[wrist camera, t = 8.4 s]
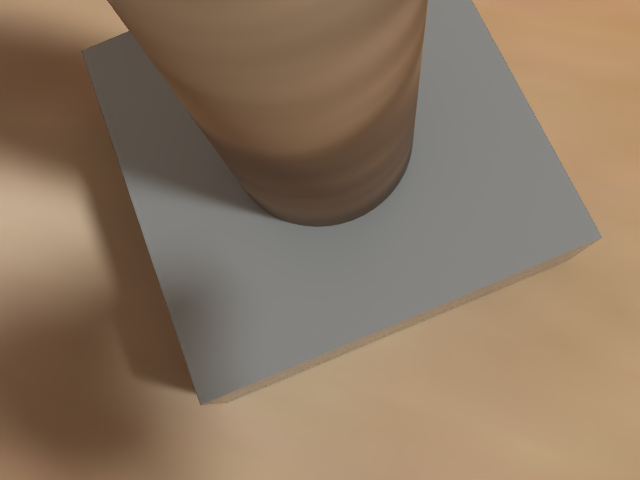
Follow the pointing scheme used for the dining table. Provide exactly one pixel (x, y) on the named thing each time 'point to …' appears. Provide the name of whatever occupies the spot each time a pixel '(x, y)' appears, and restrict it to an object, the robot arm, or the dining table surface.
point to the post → (295, 93)
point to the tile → (348, 238)
